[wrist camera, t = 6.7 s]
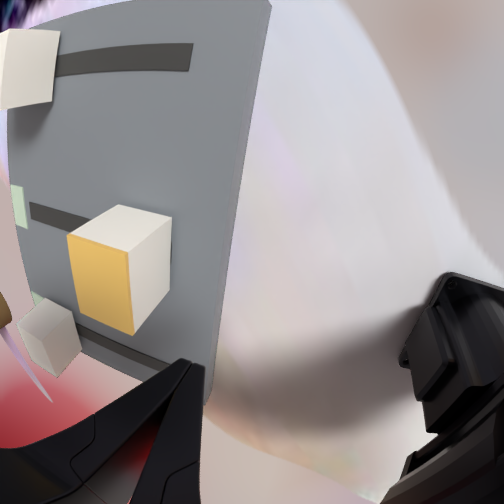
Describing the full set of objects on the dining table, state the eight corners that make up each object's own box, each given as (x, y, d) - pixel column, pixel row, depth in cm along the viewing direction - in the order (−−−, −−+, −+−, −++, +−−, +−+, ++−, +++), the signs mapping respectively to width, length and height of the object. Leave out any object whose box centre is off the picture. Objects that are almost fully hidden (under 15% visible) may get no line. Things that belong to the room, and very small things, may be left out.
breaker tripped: (172, 217, 13) (125, 254, 10) (169, 289, 15) (132, 336, 12) (118, 204, 14) (66, 235, 10) (121, 273, 16) (80, 312, 12)
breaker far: (71, 311, 19) (41, 341, 16) (82, 349, 21) (57, 377, 18) (45, 297, 19) (15, 323, 16) (56, 334, 21) (31, 360, 18)
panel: (271, 6, 10) (264, -6, 8) (211, 390, 21) (204, 406, 20) (32, 34, 12) (14, 34, 10) (52, 320, 23) (42, 330, 22)
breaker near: (60, 31, 10) (9, 28, 7) (51, 101, 12) (0, 110, 9) (29, 40, 10) (-17, 42, 7) (23, 103, 12) (-24, 114, 9)
